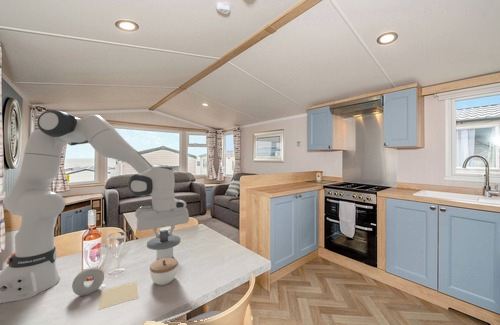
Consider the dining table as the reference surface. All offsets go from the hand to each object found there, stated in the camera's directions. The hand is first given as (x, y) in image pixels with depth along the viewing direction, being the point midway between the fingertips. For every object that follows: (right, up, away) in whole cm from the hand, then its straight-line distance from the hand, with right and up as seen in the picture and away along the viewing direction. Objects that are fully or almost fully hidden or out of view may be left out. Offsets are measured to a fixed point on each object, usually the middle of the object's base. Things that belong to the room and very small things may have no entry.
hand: (164, 236), depth 90 cm
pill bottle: (-8, -19, +22) cm, 30 cm away
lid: (0, -3, 0) cm, 3 cm away
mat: (-13, -19, -9) cm, 25 cm away
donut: (-25, -19, -8) cm, 33 cm away
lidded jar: (0, -19, 0) cm, 19 cm away
